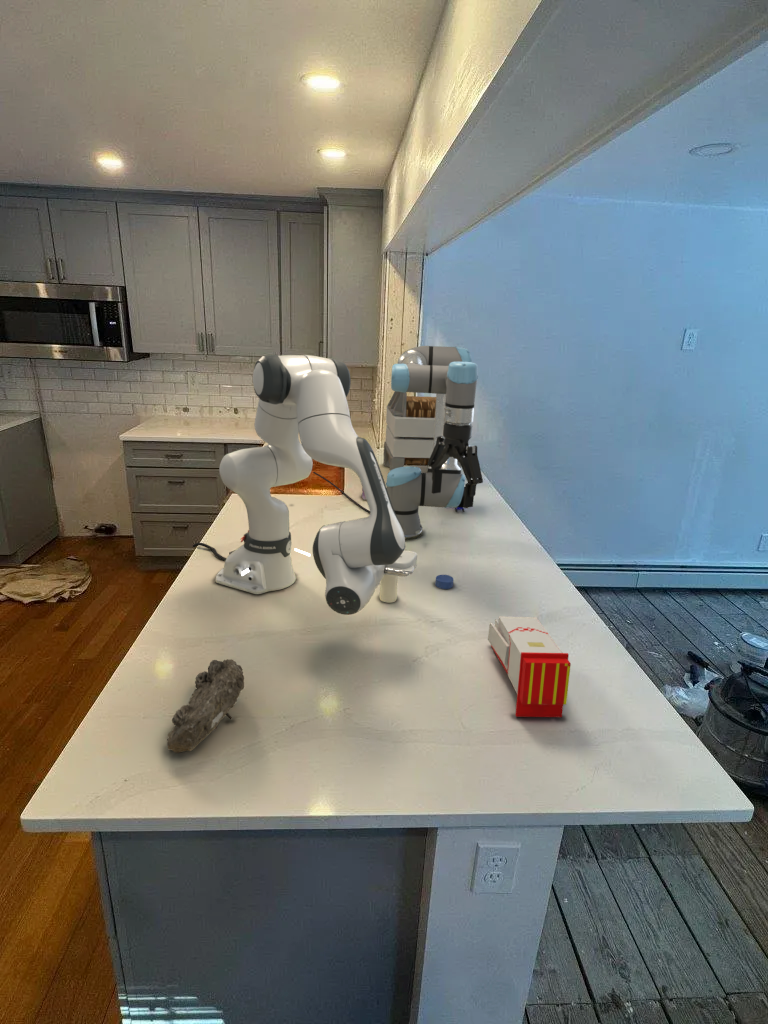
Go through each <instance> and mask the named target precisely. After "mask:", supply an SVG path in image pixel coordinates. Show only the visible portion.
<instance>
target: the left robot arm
mask: <svg viewBox="0 0 768 1024" xmlns="http://www.w3.org/2000/svg"><path fill="white" fill-rule="evenodd" d="M252 385H253V390H254V393H255V396H256V397H257V398H258V402H257V408H256V413H255V418H254V430H255V433H256V435H257V436H258V437H259V439H260V440H262V441H263V442H264V443H266V444H267V445H263V446H257V447H249V448H240V449H238V450H234V451H232V452H229V453H226V454H224V455H223V457H222V458H221V461H220V463H219V468H218V472H219V478H220V480H221V482H222V483H223V485H224V486H225V487H226V488H227V489H228V490H230V491H232V492H233V493H235V494H236V495H237V496H238V497H239V498H240V499H241V500H242V502H243V504H244V506H245V509H246V513H247V521H248V522H247V523H248V530H247V532H245V533H244V534H243V536H242V537H241V538H240V543H243V544H242V545H241V546H239V547H238V548H237V549H234V550H232V551H229V552H228V556H227V557H224V556H222V555H221V554H220V553H218V551H217V550H216V548H215V547H213V546H211V545H209V544H207V543H204V542H196V543H193V545H191V546H192V548H196V547H199V546H200V547H203V548H206V549H209V550H210V551H212V553H213V554H214V556H215V557H217V558H218V559H219V560H222V561H224V564H223V567H222V568H221V569H220V570H219V571H218V572H217V574H215V583H216V584H218V585H223V586H226V587H230V588H233V589H236V590H240V591H243V592H246V593H251V594H253V595H262V594H264V593H267V592H274V591H279V590H283V589H287V588H288V587H290V586H292V585H293V584H294V583H295V582H296V580H297V576H296V574H295V571H294V566H293V562H292V561H293V560H292V555H291V554H292V548H293V547H292V545H293V544H292V533H291V532H290V509H289V507H288V505H287V504H286V502H284V501H282V500H281V499H279V498H276V497H274V496H272V495H271V489H272V488H274V487H275V488H276V487H280V486H286V485H287V486H288V485H292V484H295V483H298V482H301V481H303V480H305V479H307V478H309V476H310V475H311V473H312V471H313V465H314V462H313V460H314V461H316V462H318V463H320V464H324V465H328V466H331V467H332V466H333V467H338V468H344V469H349V470H351V471H353V472H354V473H355V474H356V475H357V477H358V479H359V481H360V485H361V489H362V488H363V491H364V494H365V497H366V502H367V506H368V510H369V511H370V513H369V515H368V516H366V517H362V518H356V519H351V520H344V521H339V522H334V523H333V522H332V523H328V524H324V525H322V526H321V527H320V528H319V530H318V531H317V533H316V534H315V537H314V540H313V544H312V555H313V556H312V557H313V560H314V564H315V566H316V568H317V570H318V571H319V573H320V574H321V575H322V578H324V579H325V592H324V598H325V602H326V604H327V606H328V607H329V608H330V610H332V611H333V612H335V613H337V614H340V615H344V616H350V615H354V614H357V613H359V612H360V611H362V610H364V608H365V607H366V606H367V604H369V602H370V601H371V599H372V597H373V596H374V594H375V591H376V589H377V588H378V587H379V586H380V582H381V580H382V578H383V576H384V574H386V575H392V576H398V578H399V577H401V578H404V577H408V576H410V575H412V574H413V573H414V571H415V569H416V567H417V565H418V564H417V562H418V553H417V552H416V551H414V550H407V549H406V540H405V537H404V533H403V530H402V528H401V525H400V523H399V520H398V518H397V516H396V513H395V511H394V509H393V506H392V503H391V500H390V497H389V494H388V491H387V488H386V487H387V486H386V482H385V479H384V476H383V473H382V470H381V467H380V464H379V462H378V460H377V457H376V454H375V452H374V449H373V448H372V446H371V444H370V443H369V441H368V440H367V439H365V438H364V437H361V436H359V435H358V434H357V432H356V430H355V429H354V427H353V424H352V418H351V413H350V408H349V403H348V399H347V397H348V396H349V393H350V390H351V373H350V370H349V368H348V366H347V364H346V363H345V362H344V361H342V360H339V359H337V358H334V357H327V358H326V357H322V356H316V355H310V354H301V355H300V354H299V355H298V354H286V355H278V354H276V353H275V354H274V353H273V354H267V355H263V356H261V357H259V358H258V359H257V361H256V362H255V364H254V367H253V372H252ZM363 491H362V492H363ZM405 549H406V550H405ZM294 551H295V552H298V553H300V554H303V555H305V556H307V557H311V553H309V552H306V551H305V550H304V551H303V550H300V549H298V548H294Z"/></svg>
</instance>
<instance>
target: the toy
mask: <svg viewBox="0 0 768 1024" xmlns="http://www.w3.org/2000/svg"><path fill="white" fill-rule="evenodd" d="M488 625H489V627H488V633H487V641H488V642H489V644H490V646H491V647H490V648H491V649H492V650H493V652H494V654H495V656H496V658H497V659H498V660H499V662H500V664H501V666H502V668H503V669H504V671H505V673H506V674H507V676H508V678H509V680H510V682H511V685H512V686H513V689H514V690H515V693H516V704H515V717H516V718H517V717H518V718H519V717H520V718H521V717H522V718H563V710H564V705H567V701H568V692H569V685H570V684H569V683H570V676H571V675H570V674H571V666H572V664H571V661H570V660H569V655H570V654H569V653H568V652H563V651H562V649H561V648H560V647H559V646H558V644H557V643H556V642H555V640H554V639H553V638H552V636H551V635H550V634H549V632H548V631H547V629H546V628H545V627H544V626H543V624H542V622H541V621H540V620H539V619H538V618H537V616H498V618H496V619H494V623H493V622H489V624H488Z"/></svg>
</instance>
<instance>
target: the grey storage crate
mask: <svg viewBox="0 0 768 1024" xmlns="http://www.w3.org/2000/svg"><path fill="white" fill-rule="evenodd" d="M407 394H408V392H405V393H402V392H397V391H393V394H392V395H391V398H390V400H389V402H388V404H387V405H386V413H385V414H386V415H385V423H386V428H385V438H384V442H383V466H384V467H388V468H389V472H390V471H391V470H393V469H395V468H399V467H405V466H413V467H428V461H429V459H430V456H431V454H432V452H433V441H434V425H435V408H436V396H415V395H414V396H413V395H412V396H411V395H407ZM457 465H458V466H459V467H460V468H461V469H462V467H461V464H460V462H458V461H457Z"/></svg>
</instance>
